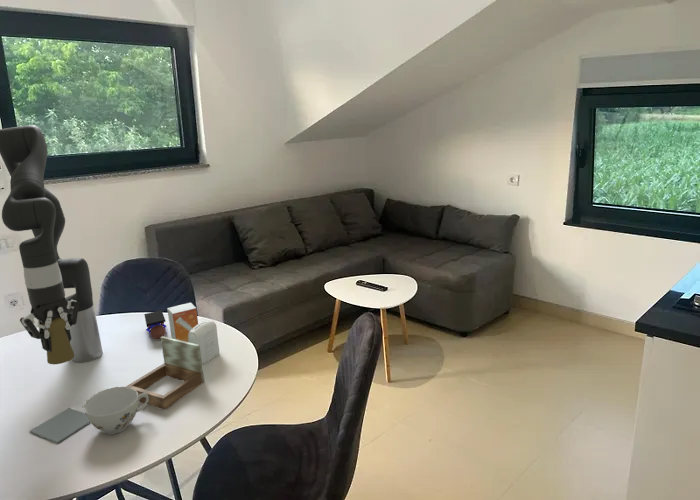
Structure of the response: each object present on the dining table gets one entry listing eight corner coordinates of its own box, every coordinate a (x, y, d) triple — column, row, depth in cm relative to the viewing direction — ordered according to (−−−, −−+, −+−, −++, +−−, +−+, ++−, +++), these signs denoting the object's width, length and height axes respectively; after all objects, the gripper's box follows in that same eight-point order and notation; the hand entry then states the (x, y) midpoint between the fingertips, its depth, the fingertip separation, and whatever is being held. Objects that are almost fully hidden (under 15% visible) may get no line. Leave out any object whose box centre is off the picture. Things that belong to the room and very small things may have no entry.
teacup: (94, 450, 123) (88, 421, 121) (84, 424, 133) (79, 397, 130) (158, 425, 131) (153, 398, 129) (145, 403, 141) (140, 377, 139)
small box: (177, 350, 171) (171, 313, 167) (171, 343, 176) (166, 307, 172) (201, 343, 175) (196, 307, 171) (195, 336, 180) (190, 301, 176)
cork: (58, 366, 125) (49, 324, 122) (41, 362, 128) (32, 321, 124) (80, 355, 130) (72, 314, 127) (63, 351, 133) (55, 311, 130)
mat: (29, 432, 131) (29, 430, 130) (69, 408, 140) (69, 407, 140) (57, 443, 126) (57, 442, 126) (96, 418, 135) (96, 417, 135)
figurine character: (145, 331, 189) (149, 343, 176) (141, 311, 188) (145, 321, 174) (164, 327, 192) (170, 338, 179) (161, 307, 191) (166, 317, 177)
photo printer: (211, 350, 169) (206, 316, 166) (221, 353, 168) (217, 318, 164) (189, 365, 161) (184, 329, 157) (200, 368, 159) (195, 331, 155)
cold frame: (127, 397, 144) (120, 359, 141) (168, 372, 157) (162, 336, 154) (165, 410, 138) (158, 370, 134) (204, 382, 151) (199, 344, 147)
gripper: (23, 293, 116) (38, 362, 120) (81, 274, 127) (93, 338, 132) (4, 289, 119) (20, 356, 124) (62, 271, 131) (75, 333, 136)
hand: (58, 346), depth 128 cm, fingers closed on cork, 4 cm apart
